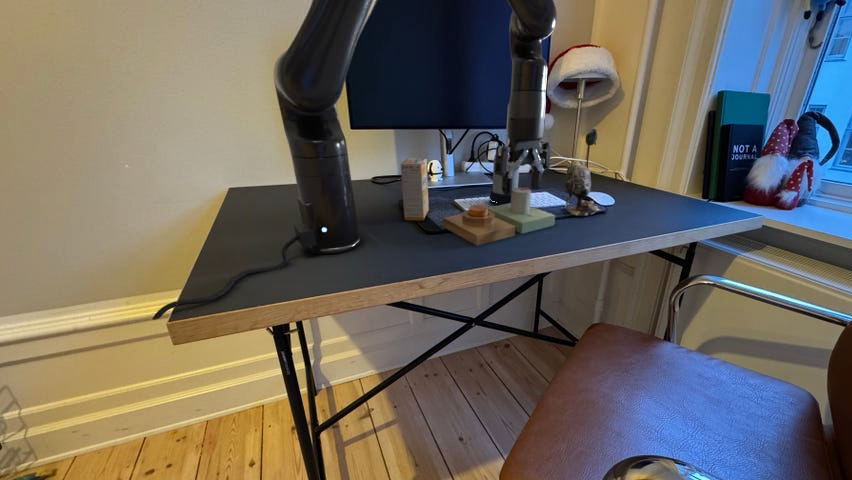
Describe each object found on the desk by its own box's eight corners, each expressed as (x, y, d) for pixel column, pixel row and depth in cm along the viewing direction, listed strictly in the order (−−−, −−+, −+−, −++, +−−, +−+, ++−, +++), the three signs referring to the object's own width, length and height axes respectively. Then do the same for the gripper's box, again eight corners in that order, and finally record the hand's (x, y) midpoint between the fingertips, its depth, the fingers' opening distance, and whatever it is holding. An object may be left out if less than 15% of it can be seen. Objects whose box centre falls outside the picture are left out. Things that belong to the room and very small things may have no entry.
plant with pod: (552, 209, 96) (561, 128, 87) (588, 206, 99) (601, 127, 90) (569, 219, 89) (580, 131, 80) (607, 215, 92) (623, 130, 83)
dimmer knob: (519, 215, 83) (520, 192, 80) (506, 210, 86) (507, 187, 84) (533, 212, 85) (535, 189, 83) (520, 207, 88) (522, 185, 86)
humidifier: (522, 200, 103) (529, 103, 92) (515, 208, 96) (522, 104, 85) (494, 197, 105) (498, 102, 94) (486, 205, 98) (488, 102, 87)
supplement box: (424, 221, 86) (421, 163, 80) (404, 220, 86) (399, 163, 80) (429, 210, 93) (427, 157, 87) (410, 210, 93) (407, 156, 87)
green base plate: (521, 233, 79) (522, 222, 78) (485, 217, 89) (486, 207, 87) (554, 225, 85) (555, 214, 83) (517, 211, 94) (517, 201, 93)
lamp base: (476, 245, 73) (476, 226, 71) (443, 227, 82) (442, 209, 80) (514, 235, 78) (515, 217, 76) (479, 219, 88) (479, 203, 86)
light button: (476, 219, 76) (476, 211, 75) (465, 214, 79) (465, 206, 78) (491, 216, 78) (491, 208, 77) (480, 211, 81) (480, 204, 80)
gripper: (538, 112, 83) (533, 184, 90) (488, 114, 75) (486, 192, 83) (563, 115, 77) (555, 190, 85) (512, 117, 70) (508, 200, 77)
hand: (521, 191), depth 84 cm, fingers open, 8 cm apart
